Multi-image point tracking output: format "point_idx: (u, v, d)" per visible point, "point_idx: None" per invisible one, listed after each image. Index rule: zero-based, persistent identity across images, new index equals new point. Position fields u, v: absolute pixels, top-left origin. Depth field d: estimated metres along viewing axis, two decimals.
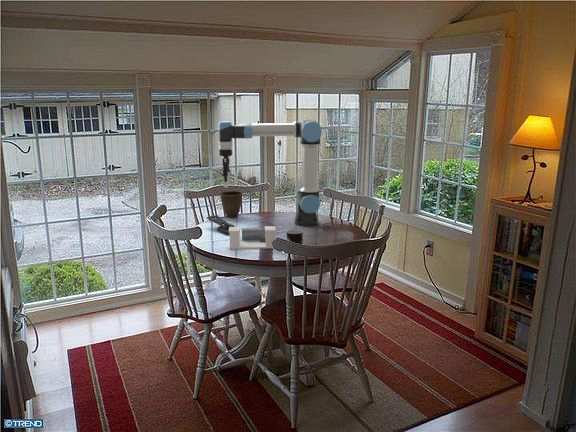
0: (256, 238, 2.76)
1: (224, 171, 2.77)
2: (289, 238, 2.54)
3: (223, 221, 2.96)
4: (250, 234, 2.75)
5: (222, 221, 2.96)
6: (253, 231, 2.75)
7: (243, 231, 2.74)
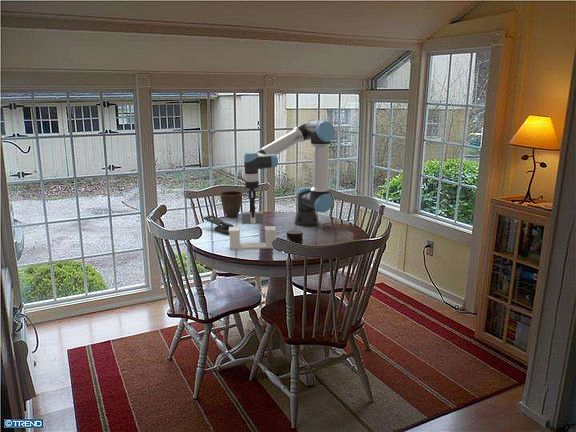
0: (256, 221, 2.74)
1: (251, 208, 2.68)
2: (289, 238, 2.54)
3: (220, 221, 2.97)
4: (250, 218, 2.73)
5: (219, 221, 2.96)
6: None
7: (243, 214, 2.72)
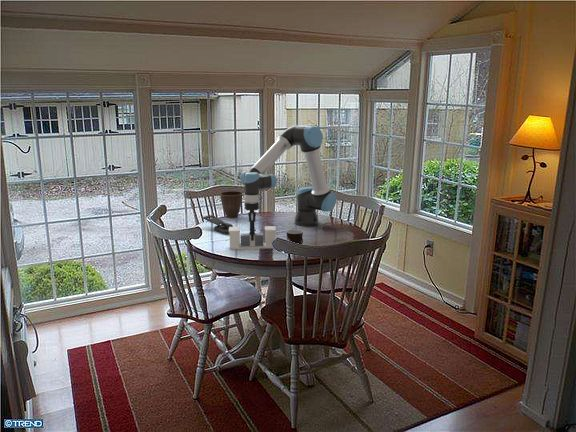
0: (256, 244, 2.62)
1: (251, 230, 2.56)
2: (289, 238, 2.54)
3: (220, 221, 2.97)
4: None
5: (219, 221, 2.97)
6: None
7: (242, 236, 2.60)
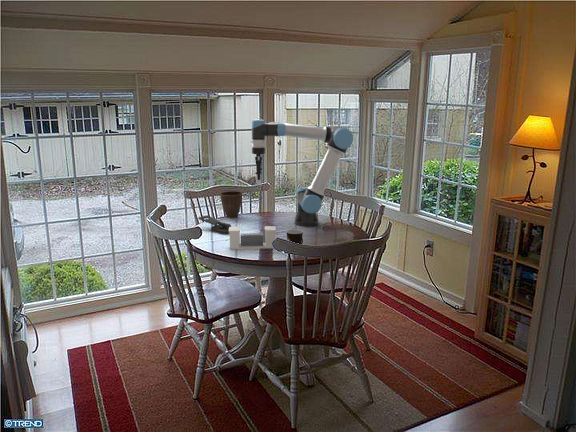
0: (256, 244, 2.62)
1: (258, 169, 2.77)
2: (289, 238, 2.54)
3: (216, 221, 2.97)
4: (250, 240, 2.61)
5: (215, 221, 2.97)
6: (252, 236, 2.61)
7: (242, 236, 2.60)
